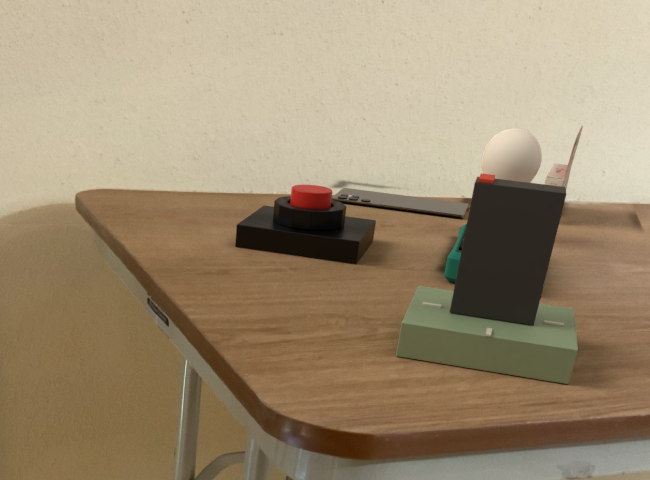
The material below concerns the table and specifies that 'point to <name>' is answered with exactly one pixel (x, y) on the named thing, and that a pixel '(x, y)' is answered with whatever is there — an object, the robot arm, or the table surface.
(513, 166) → the lightbulb
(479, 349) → the panel
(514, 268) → the switch lever
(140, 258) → the table surface
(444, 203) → the smartphone
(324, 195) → the button
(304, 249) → the button box
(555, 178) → the ink cartridge box
